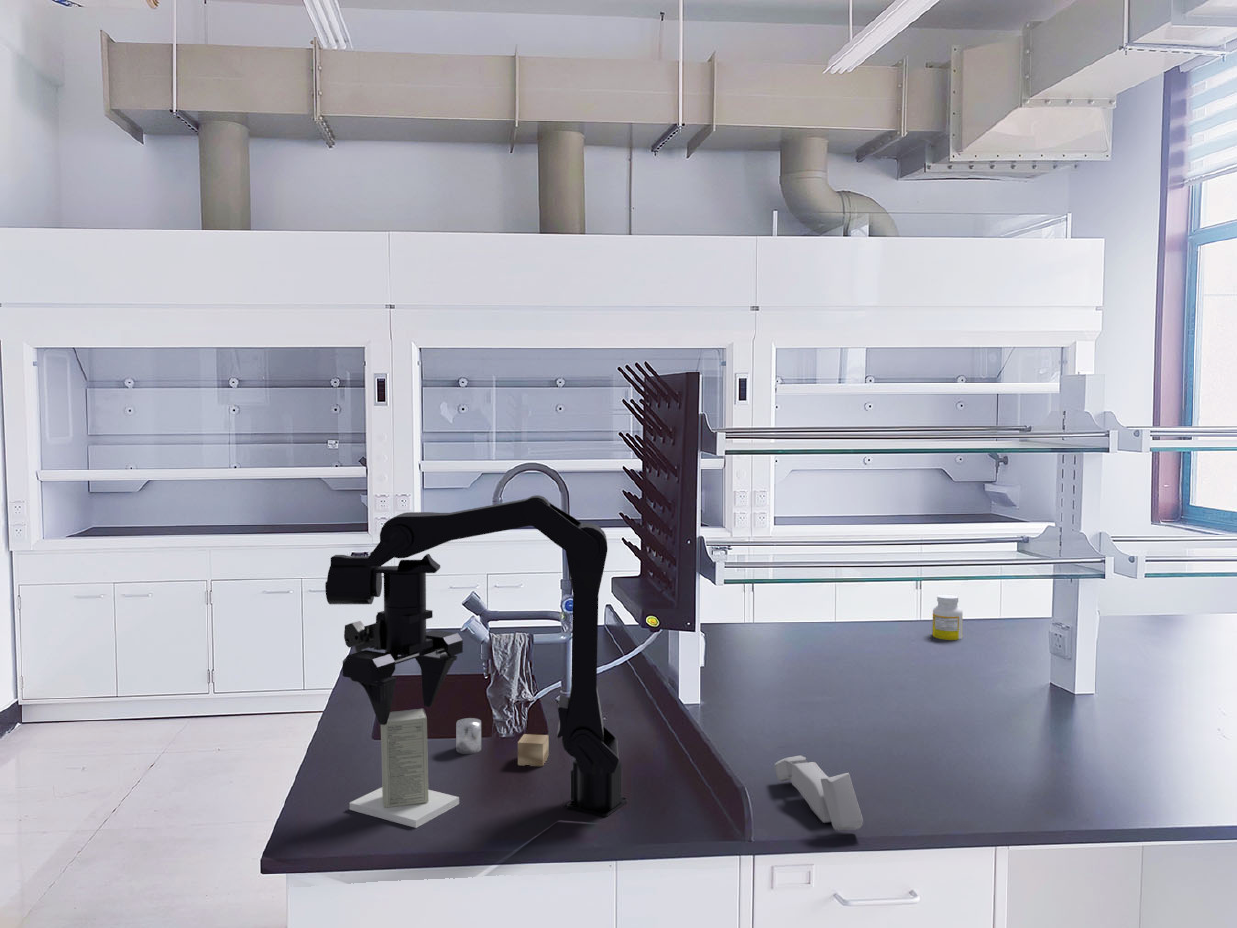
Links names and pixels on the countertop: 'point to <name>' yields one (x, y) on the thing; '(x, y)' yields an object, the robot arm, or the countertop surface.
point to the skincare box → (404, 758)
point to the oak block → (533, 750)
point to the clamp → (823, 792)
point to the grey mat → (405, 808)
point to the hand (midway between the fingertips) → (405, 715)
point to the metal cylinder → (468, 735)
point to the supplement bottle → (947, 618)
